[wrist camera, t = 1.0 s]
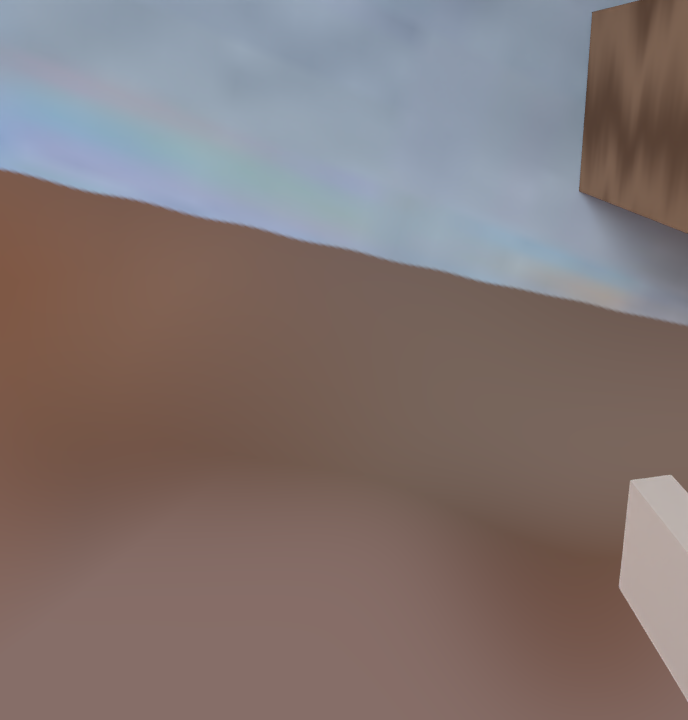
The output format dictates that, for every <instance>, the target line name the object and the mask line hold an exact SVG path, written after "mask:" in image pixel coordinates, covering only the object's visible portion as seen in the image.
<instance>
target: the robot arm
mask: <svg viewBox="0 0 688 720" xmlns="http://www.w3.org/2000/svg"><path fill="white" fill-rule="evenodd" d="M619 588H620V590H621V592H622V593H623V595H624V597H625V598H626V600H627V601H628V603H629V605H630V606H631V608H632V610H633V612H634V613H635V615H636V617H637V618H638V620H639V621H640V623H641V625H642V626H643V628H644V630H645V631H646V633H647V635H648V636H649V638H650V640H651V641H652V643H653V645H654V646H655V648H656V650H657V651H658V653H659V655H660V656H661V658H662V660H663V661H664V663H665V664H666V666H667V668H668V670H669V671H670V673H671V675H672V676H673V678H674V679H675V681H676V683H677V684H678V686H679V688H680V689H681V691H682V693H683V694H684V696H685V698H686V699H687V701H688V493H687V492H686V491H685V490H684V488H683V487H682V486H681V485H680V484H679V483H678V482H677V481H676V480H675V479H674V477H673V476H672V475H666V476H658V477H651V478H644V479H636V480H630V487H629V497H628V506H627V516H626V526H625V534H624V544H623V553H622V563H621V572H620V582H619Z"/></svg>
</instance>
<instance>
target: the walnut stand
mask: <svg viewBox="0 0 688 720" xmlns="http://www.w3.org/2000/svg"><path fill="white" fill-rule="evenodd" d="M579 191H580V192H583V193H585V194H588V195H591V196H593V197H596V198H598V199H601V200H603V201H606V202H608V203H611V204H613V205H616V206H619V207H621V208H624V209H626V210H629V211H631V212H634V213H636V214H639V215H642V216H644V217H647V218H649V219H652V220H654V221H657V222H659V223H662V224H664V225H667V226H670V227H672V228H675V229H677V230H680V231H682V232H685V233H687V234H688V0H639V1H635V2H631V3H627V4H623V5H619V6H615V7H611V8H607V9H603V10H599V11H595V12H592V23H591V37H590V50H589V64H588V78H587V91H586V105H585V118H584V132H583V146H582V159H581V173H580V186H579Z"/></svg>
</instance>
